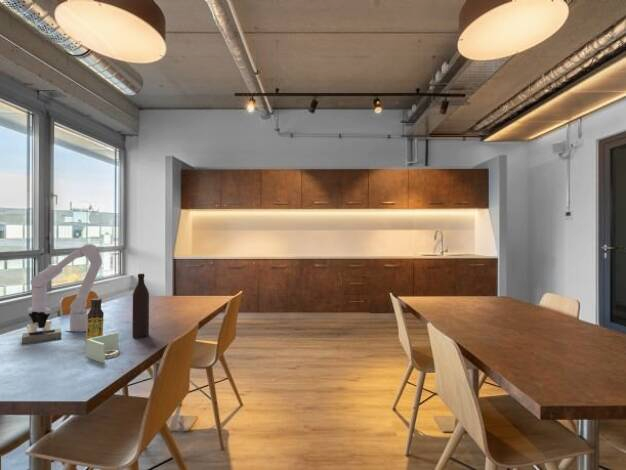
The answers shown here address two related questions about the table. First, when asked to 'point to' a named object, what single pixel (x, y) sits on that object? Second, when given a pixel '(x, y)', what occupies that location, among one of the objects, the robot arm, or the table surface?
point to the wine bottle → (140, 309)
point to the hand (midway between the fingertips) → (39, 327)
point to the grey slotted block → (41, 336)
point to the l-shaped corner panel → (102, 347)
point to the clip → (34, 326)
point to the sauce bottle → (95, 320)
